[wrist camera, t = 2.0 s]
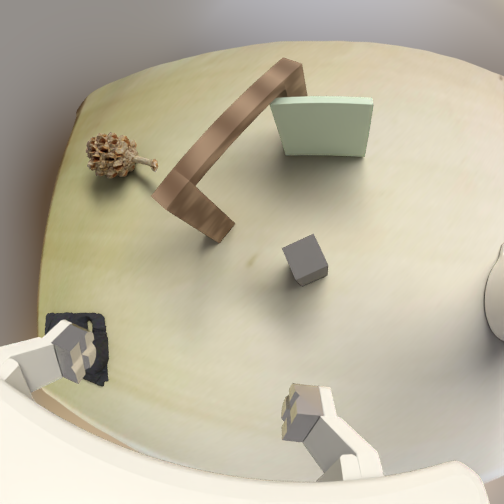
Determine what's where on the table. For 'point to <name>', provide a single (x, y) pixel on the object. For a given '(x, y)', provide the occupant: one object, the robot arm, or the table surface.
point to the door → (323, 124)
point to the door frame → (223, 150)
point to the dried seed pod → (114, 155)
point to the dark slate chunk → (99, 367)
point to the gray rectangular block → (306, 260)
